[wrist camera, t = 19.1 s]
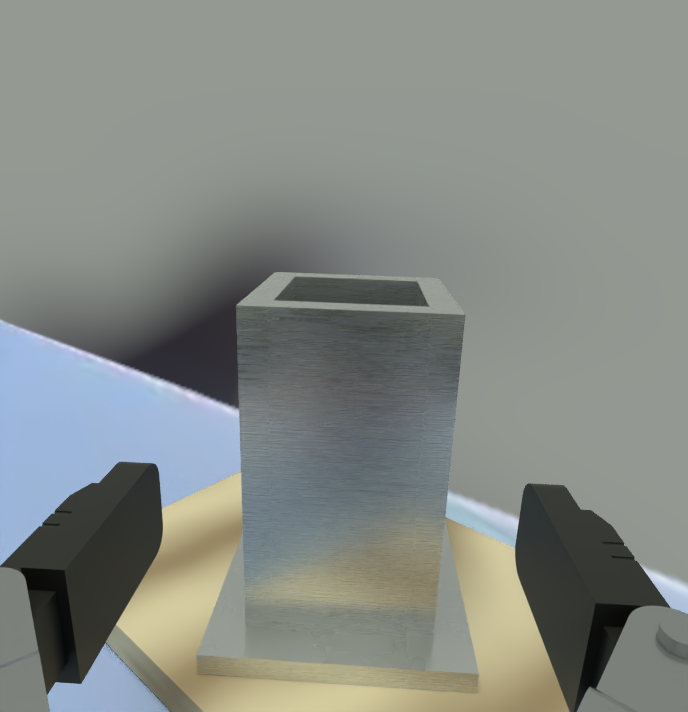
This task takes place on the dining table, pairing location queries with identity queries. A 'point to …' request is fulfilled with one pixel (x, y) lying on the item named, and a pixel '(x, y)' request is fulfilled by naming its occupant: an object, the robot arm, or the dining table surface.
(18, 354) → the dining table surface
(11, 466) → the dining table surface
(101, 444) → the dining table surface
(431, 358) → the sleeve
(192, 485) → the dining table surface
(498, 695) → the base plate
